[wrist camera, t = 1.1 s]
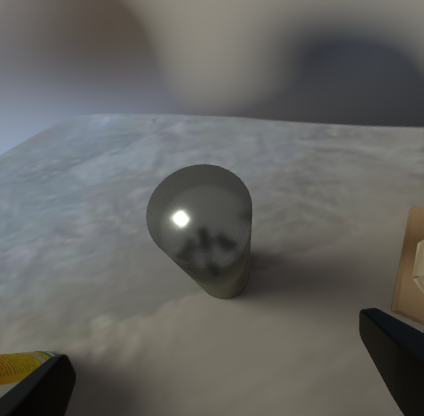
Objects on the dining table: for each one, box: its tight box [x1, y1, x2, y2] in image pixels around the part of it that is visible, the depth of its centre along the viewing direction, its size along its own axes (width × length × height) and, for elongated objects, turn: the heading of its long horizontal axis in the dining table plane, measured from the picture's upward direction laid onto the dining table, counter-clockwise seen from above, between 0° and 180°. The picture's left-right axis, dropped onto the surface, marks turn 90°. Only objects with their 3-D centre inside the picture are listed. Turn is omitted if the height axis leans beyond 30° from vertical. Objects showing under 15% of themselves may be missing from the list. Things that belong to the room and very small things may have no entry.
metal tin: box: [146, 164, 252, 299], centre depth 16 cm, size 4×4×12 cm
